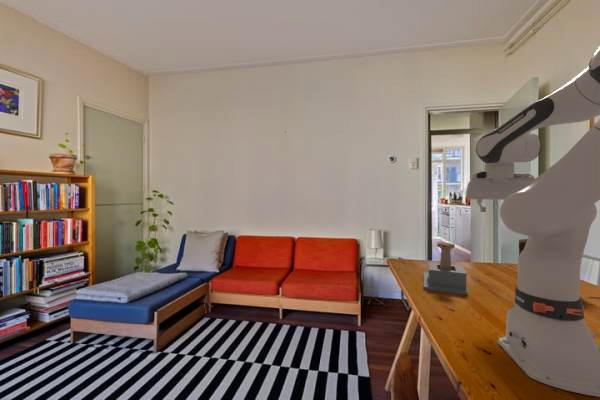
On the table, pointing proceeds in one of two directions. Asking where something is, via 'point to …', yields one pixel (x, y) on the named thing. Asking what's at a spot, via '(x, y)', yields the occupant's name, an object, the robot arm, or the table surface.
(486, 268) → the table surface
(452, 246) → the handle
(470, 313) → the table surface
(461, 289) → the socket block
